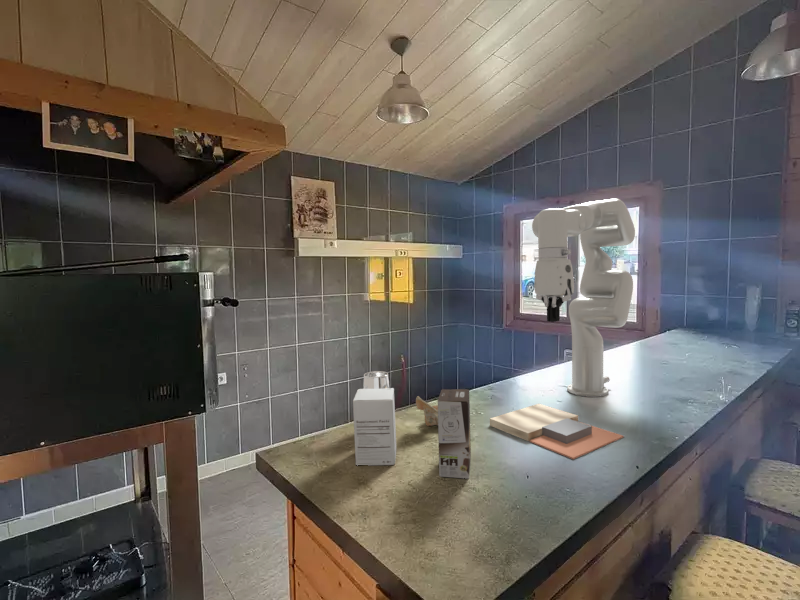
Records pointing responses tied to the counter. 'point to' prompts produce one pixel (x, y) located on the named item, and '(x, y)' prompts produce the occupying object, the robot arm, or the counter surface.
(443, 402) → the coffee box
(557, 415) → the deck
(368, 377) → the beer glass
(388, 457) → the supplement box
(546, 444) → the mat
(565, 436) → the tile
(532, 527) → the counter surface
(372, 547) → the counter surface
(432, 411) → the oil lamp
